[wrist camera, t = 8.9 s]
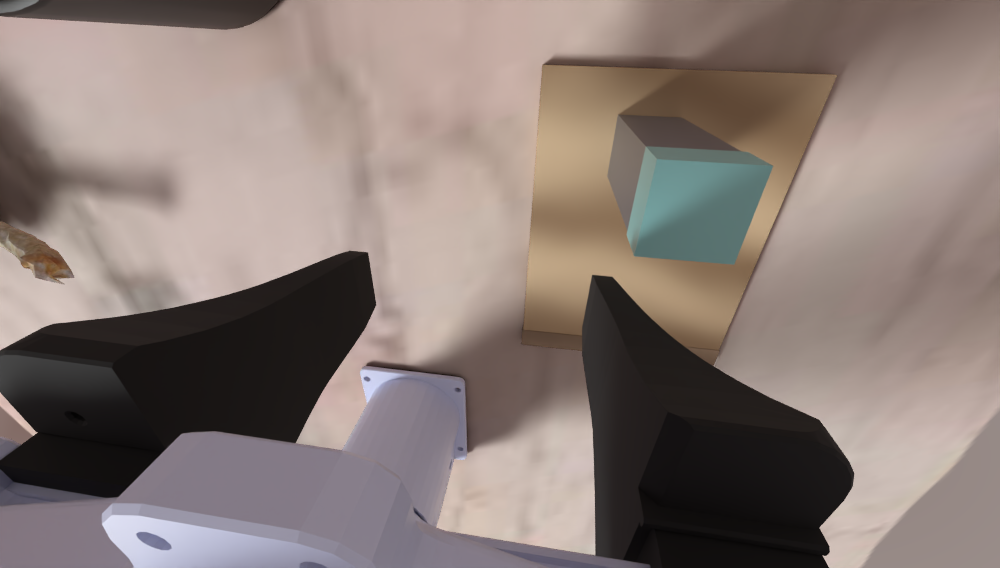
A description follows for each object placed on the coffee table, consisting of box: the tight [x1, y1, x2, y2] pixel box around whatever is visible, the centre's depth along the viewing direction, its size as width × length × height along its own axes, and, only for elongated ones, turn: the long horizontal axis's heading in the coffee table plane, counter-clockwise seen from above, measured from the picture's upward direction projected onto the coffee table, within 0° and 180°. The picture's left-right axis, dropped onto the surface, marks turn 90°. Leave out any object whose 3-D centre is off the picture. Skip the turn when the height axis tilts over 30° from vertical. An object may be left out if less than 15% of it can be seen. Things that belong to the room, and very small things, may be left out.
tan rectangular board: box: [521, 65, 837, 365], centre depth 21 cm, size 16×12×1 cm
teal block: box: [607, 115, 773, 265], centre depth 14 cm, size 3×3×9 cm
